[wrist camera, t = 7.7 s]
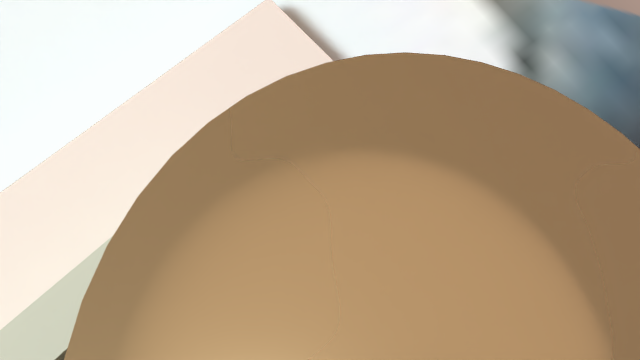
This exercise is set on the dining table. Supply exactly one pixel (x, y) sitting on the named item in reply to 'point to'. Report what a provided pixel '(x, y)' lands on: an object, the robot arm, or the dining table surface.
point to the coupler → (380, 226)
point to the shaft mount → (122, 175)
